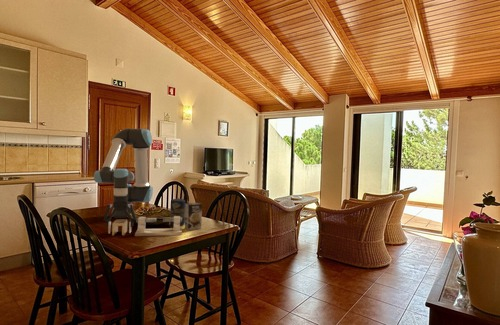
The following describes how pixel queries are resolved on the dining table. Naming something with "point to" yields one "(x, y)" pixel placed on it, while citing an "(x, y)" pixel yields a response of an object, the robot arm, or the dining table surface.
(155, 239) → the dining table surface
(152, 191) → the robot arm
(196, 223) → the coffee box
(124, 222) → the block
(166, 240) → the dining table surface
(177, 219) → the shaft rig
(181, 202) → the canister
